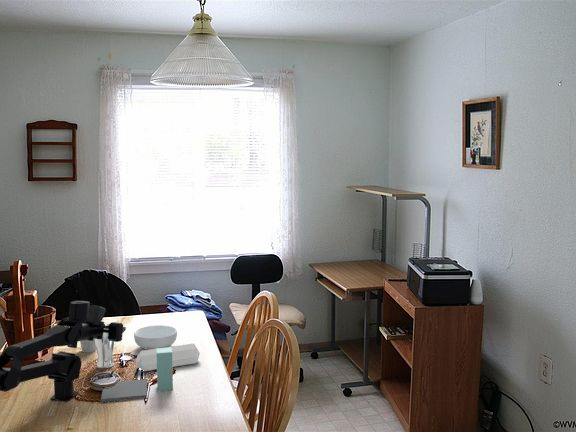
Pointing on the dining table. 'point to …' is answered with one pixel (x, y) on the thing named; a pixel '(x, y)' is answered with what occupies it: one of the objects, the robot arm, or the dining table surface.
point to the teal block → (164, 369)
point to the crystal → (179, 357)
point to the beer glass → (104, 351)
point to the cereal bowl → (155, 337)
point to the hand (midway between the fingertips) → (115, 327)
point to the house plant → (88, 345)
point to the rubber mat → (125, 391)
